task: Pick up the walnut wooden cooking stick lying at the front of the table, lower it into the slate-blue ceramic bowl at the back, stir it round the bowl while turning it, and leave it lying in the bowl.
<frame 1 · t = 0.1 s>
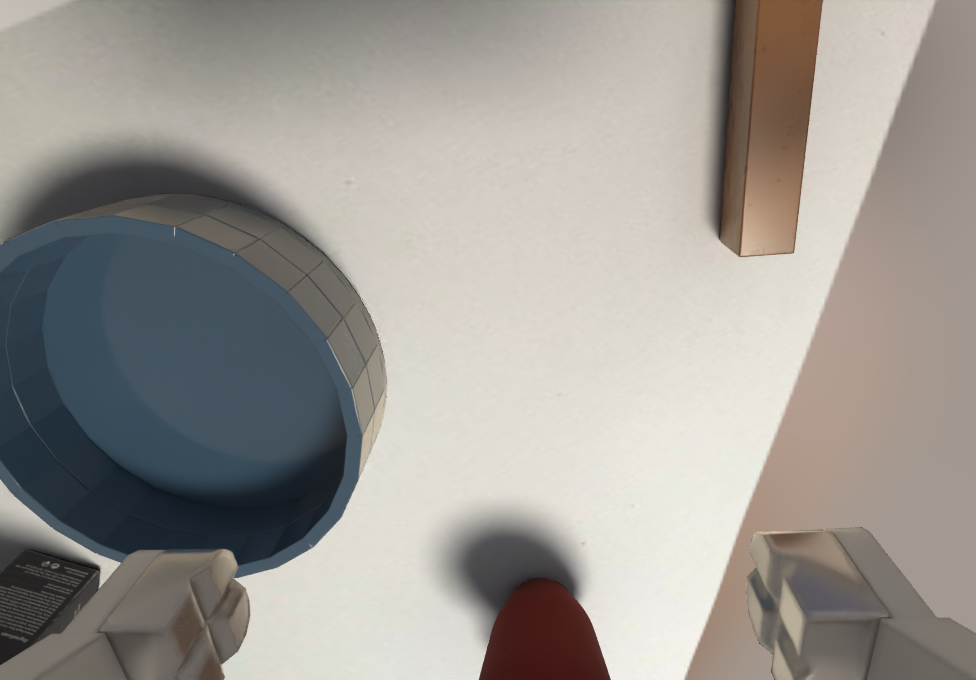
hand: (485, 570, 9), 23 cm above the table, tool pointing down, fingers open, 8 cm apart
box: (63, 599, 44), on the table
mug: (538, 609, 41), on the table
bowl: (214, 369, 35), on the table
stick: (755, 103, 28), on the table
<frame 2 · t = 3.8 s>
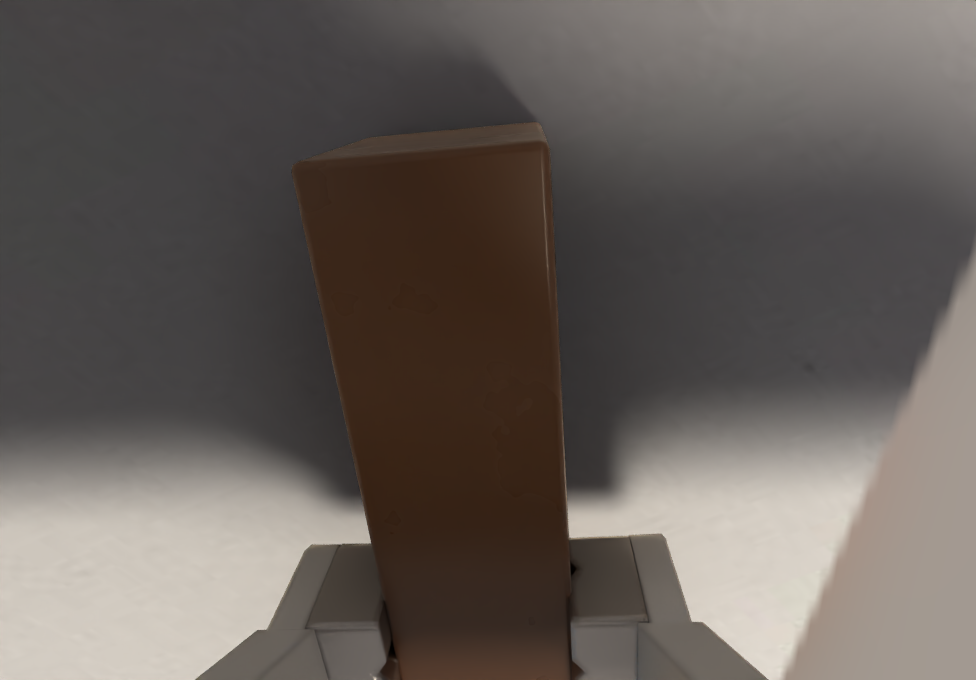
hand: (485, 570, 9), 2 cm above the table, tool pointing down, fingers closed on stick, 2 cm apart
stick: (492, 505, 11), on the table, touching gripper
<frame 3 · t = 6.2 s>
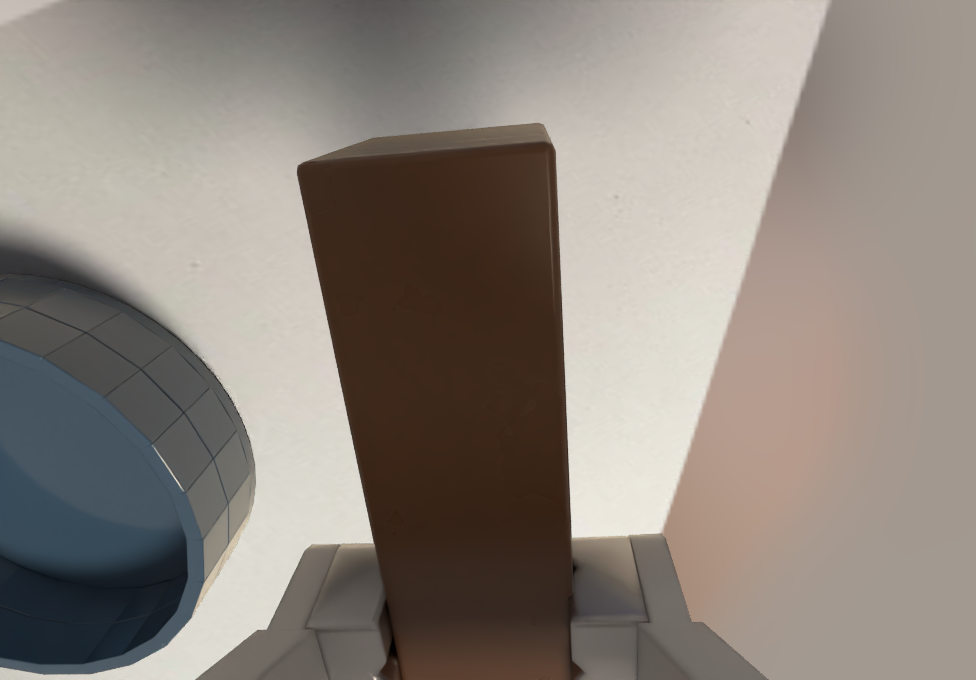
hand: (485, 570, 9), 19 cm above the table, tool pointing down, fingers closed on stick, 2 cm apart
bowl: (73, 449, 33), on the table
stick: (494, 505, 11), point 18 cm above the table, touching gripper
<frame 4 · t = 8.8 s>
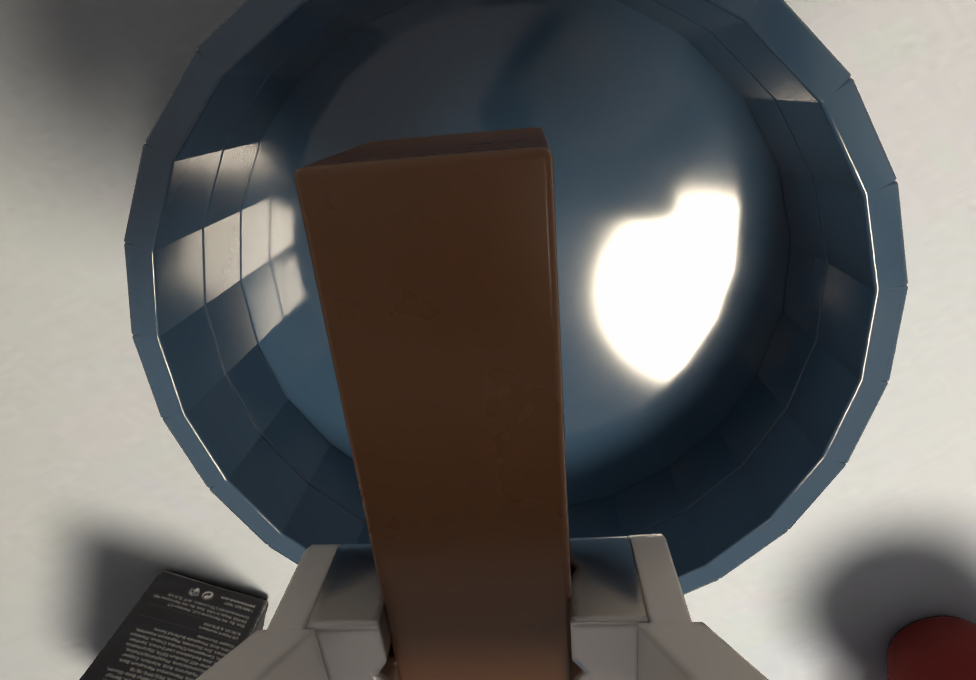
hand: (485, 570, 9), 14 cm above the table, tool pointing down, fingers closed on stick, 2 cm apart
box: (205, 639, 30), on the table
mug: (917, 660, 28), on the table
bowl: (507, 287, 22), on the table
stick: (492, 508, 11), point 12 cm above the table, touching gripper
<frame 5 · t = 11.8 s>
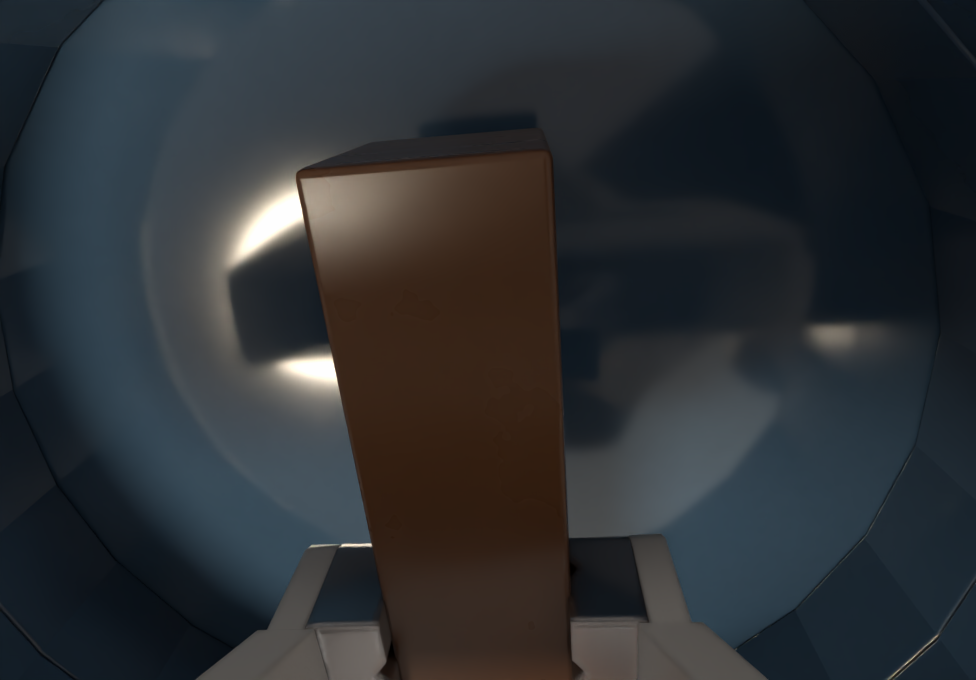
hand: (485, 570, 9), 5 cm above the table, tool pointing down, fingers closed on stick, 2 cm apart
bowl: (455, 396, 13), on the table
stick: (492, 508, 11), point 3 cm above the table, touching gripper
when the fingers open (2 cm above the table, at t = 13.7 s): stick stays where it is, resting on bowl.
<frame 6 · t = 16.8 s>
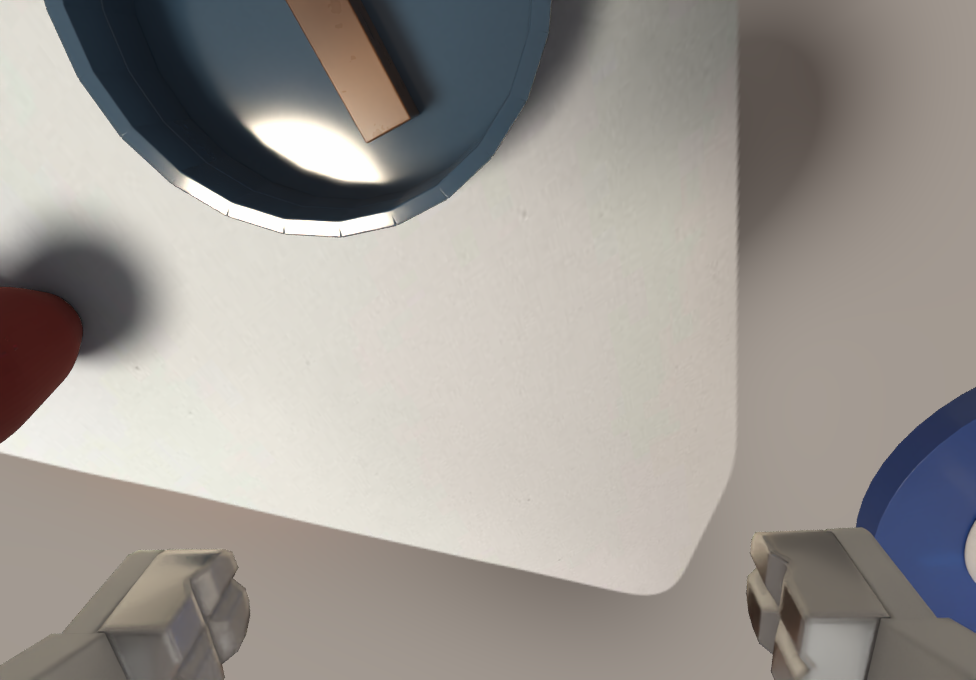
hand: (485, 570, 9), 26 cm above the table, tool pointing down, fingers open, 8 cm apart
mug: (33, 314, 37), on the table
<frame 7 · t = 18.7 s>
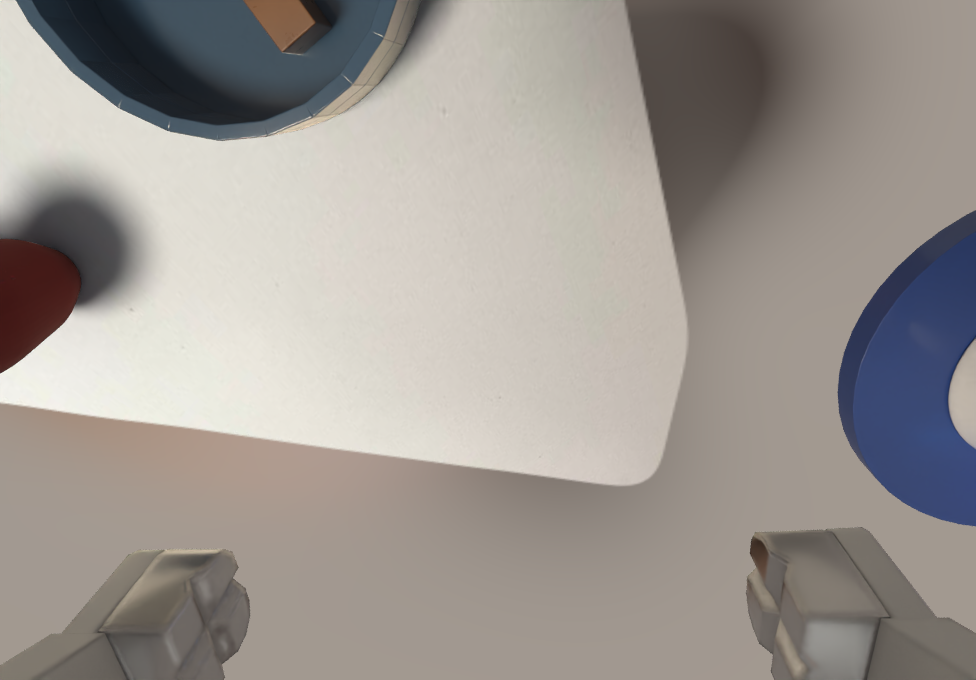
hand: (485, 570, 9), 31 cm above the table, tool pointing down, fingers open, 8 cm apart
mug: (38, 271, 42), on the table
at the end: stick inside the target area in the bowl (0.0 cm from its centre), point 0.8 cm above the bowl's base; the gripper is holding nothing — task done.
